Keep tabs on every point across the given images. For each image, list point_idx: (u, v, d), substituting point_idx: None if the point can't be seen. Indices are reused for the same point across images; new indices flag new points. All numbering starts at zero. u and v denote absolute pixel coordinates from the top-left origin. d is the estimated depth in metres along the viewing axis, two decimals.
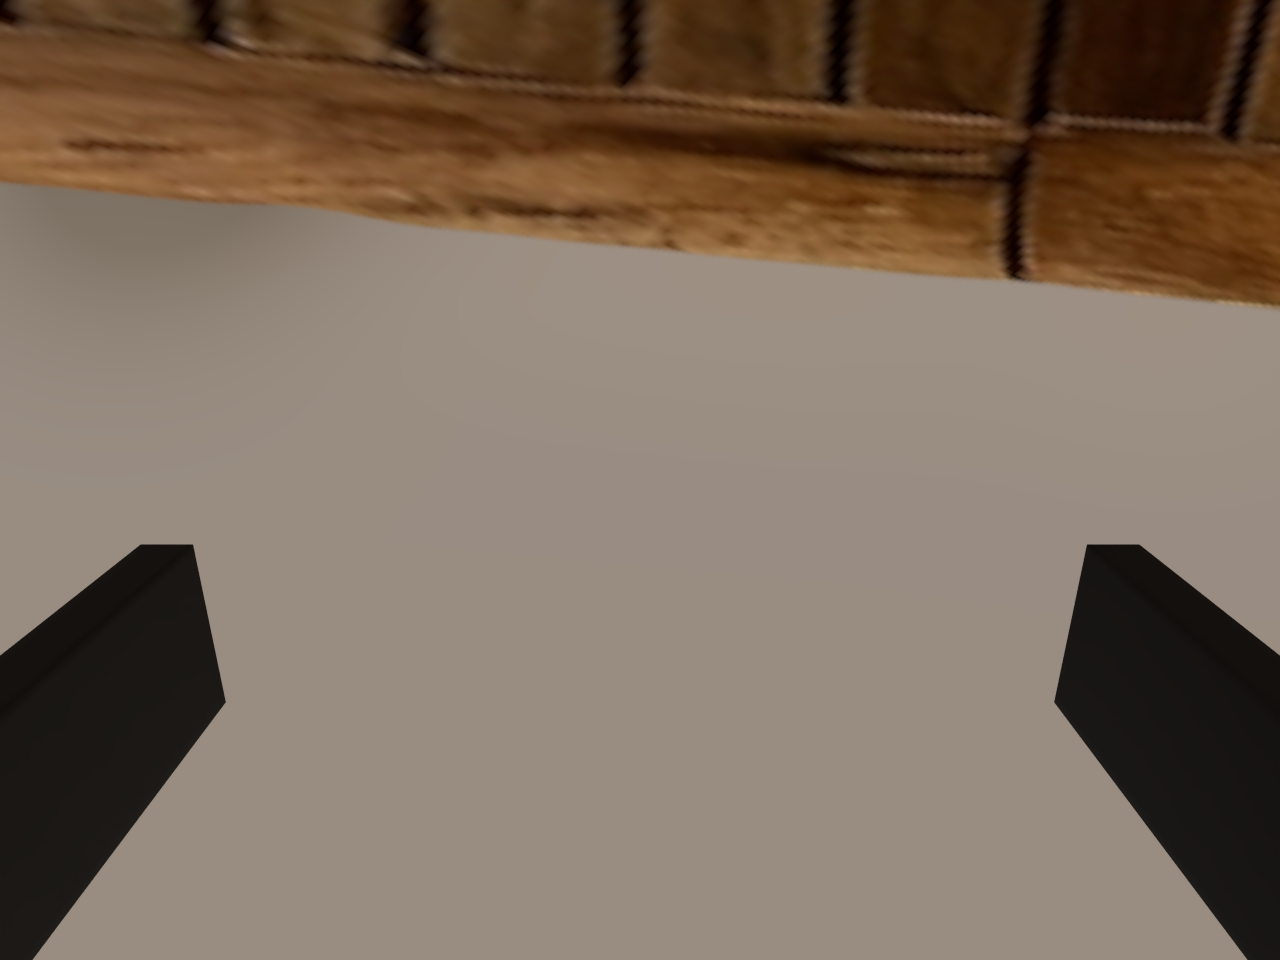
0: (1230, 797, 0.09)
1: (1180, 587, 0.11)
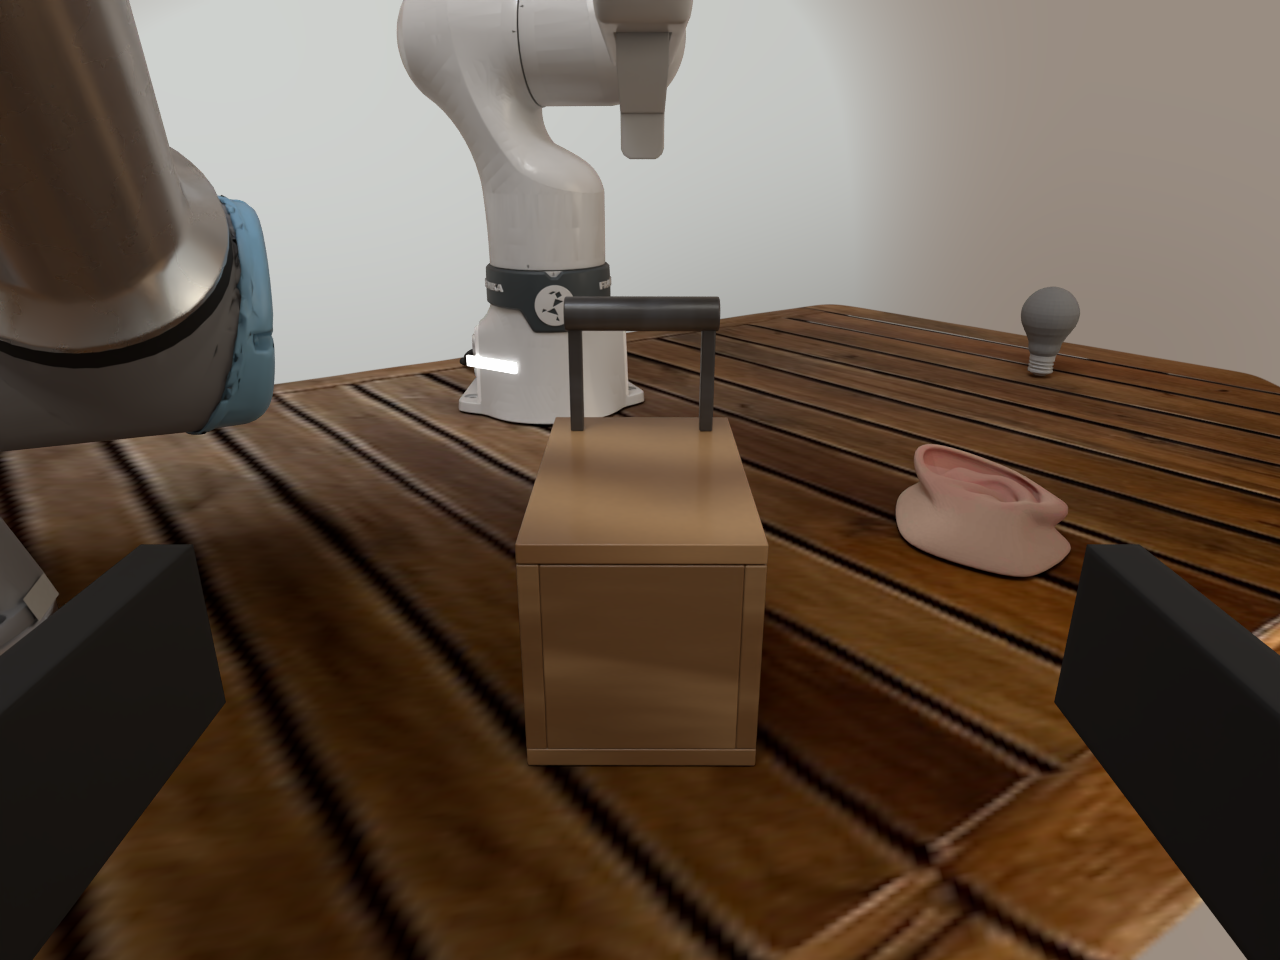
0: (1229, 797, 0.09)
1: (1180, 587, 0.11)
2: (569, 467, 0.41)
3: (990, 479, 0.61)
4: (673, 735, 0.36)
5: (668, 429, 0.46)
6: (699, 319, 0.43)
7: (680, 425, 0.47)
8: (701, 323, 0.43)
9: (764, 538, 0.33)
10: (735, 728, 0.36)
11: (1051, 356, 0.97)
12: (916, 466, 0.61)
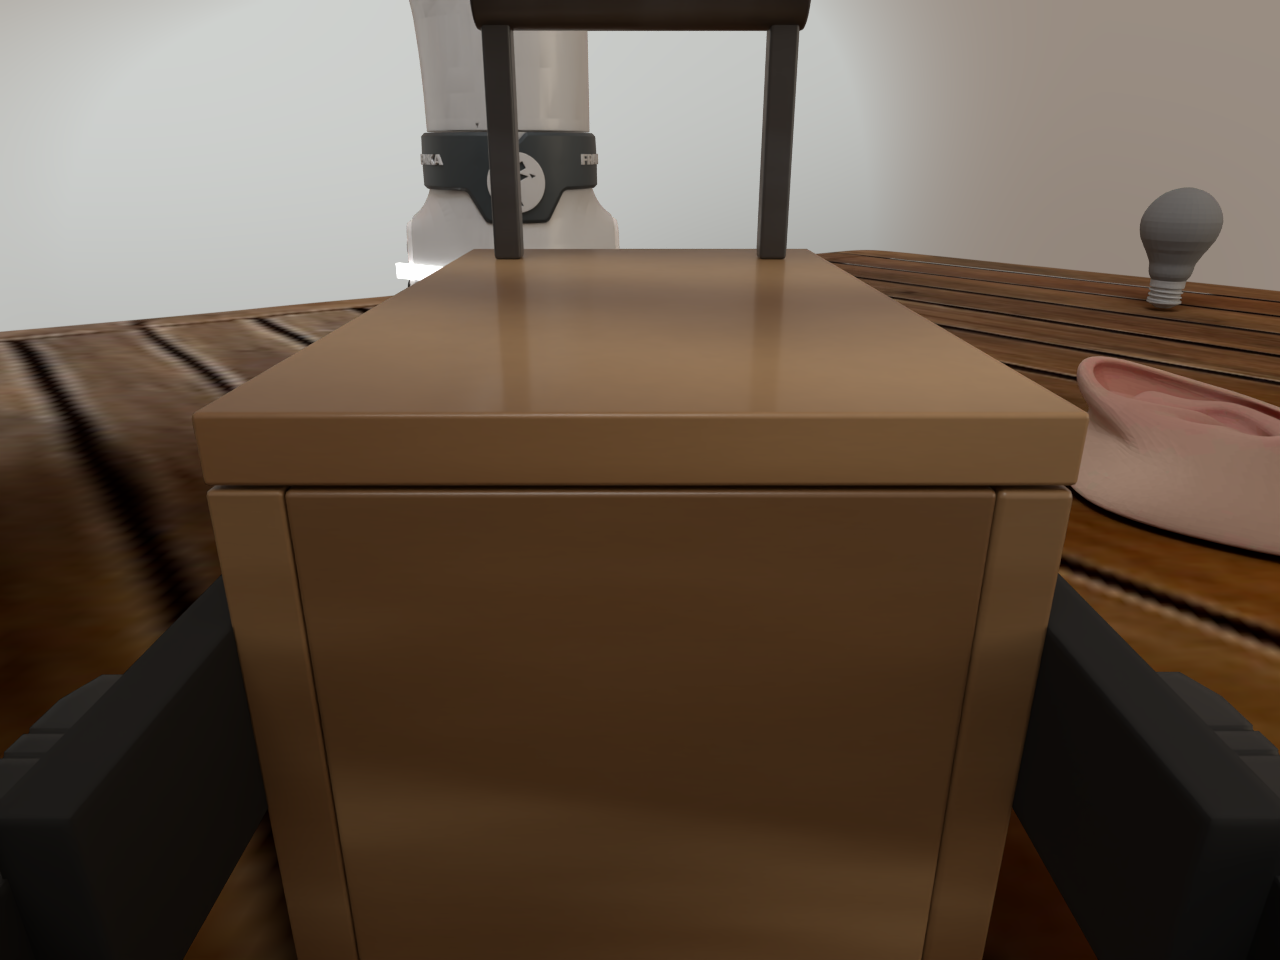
0: (1040, 732, 0.10)
1: None
2: (468, 292, 0.17)
3: (1209, 407, 0.37)
4: None
5: (694, 257, 0.23)
6: None
7: (718, 254, 0.23)
8: (771, 0, 0.20)
9: (1060, 399, 0.10)
10: None
11: (1181, 281, 0.73)
12: (1086, 387, 0.38)
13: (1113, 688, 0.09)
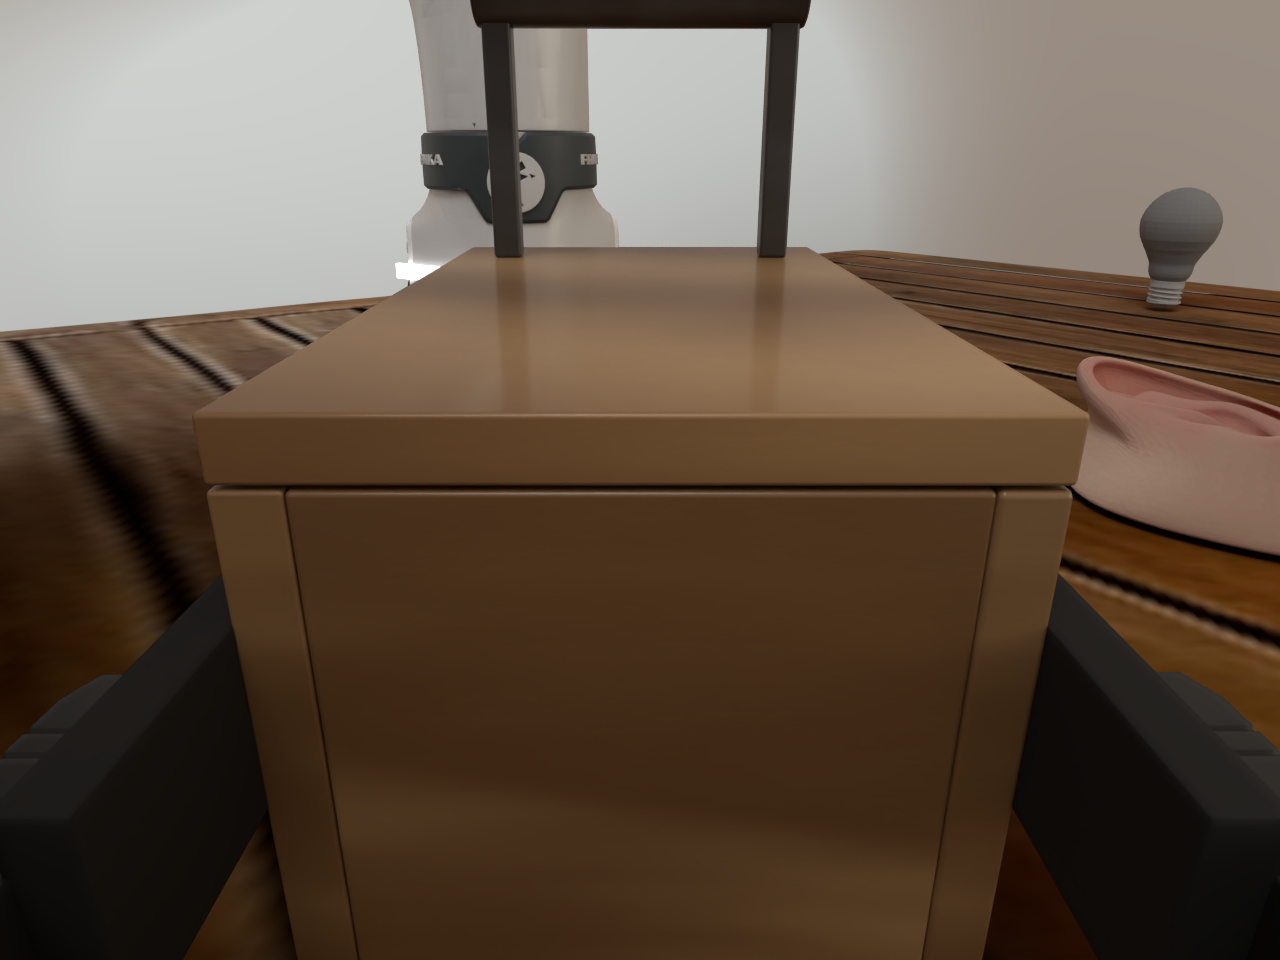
0: (1040, 733, 0.10)
1: None
2: (468, 291, 0.17)
3: (1209, 407, 0.37)
4: None
5: (694, 256, 0.23)
6: None
7: (718, 253, 0.23)
8: None
9: (1060, 399, 0.10)
10: None
11: (1181, 281, 0.73)
12: (1085, 387, 0.38)
13: (1113, 688, 0.09)
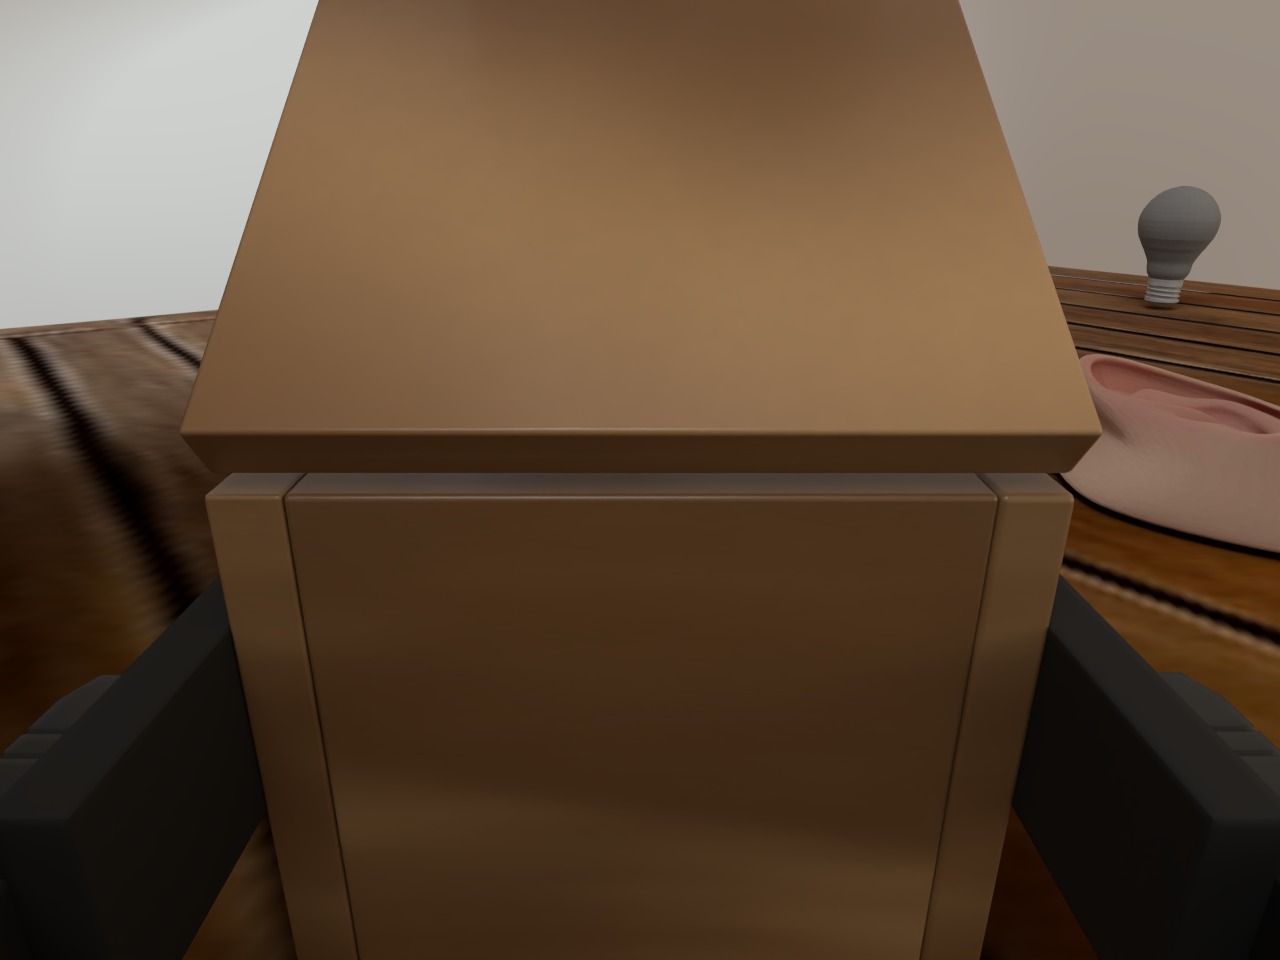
0: (1042, 733, 0.10)
1: None
2: None
3: (1206, 405, 0.37)
4: None
5: None
6: None
7: None
8: None
9: (1083, 389, 0.09)
10: None
11: (1179, 279, 0.73)
12: None
13: (1114, 689, 0.09)
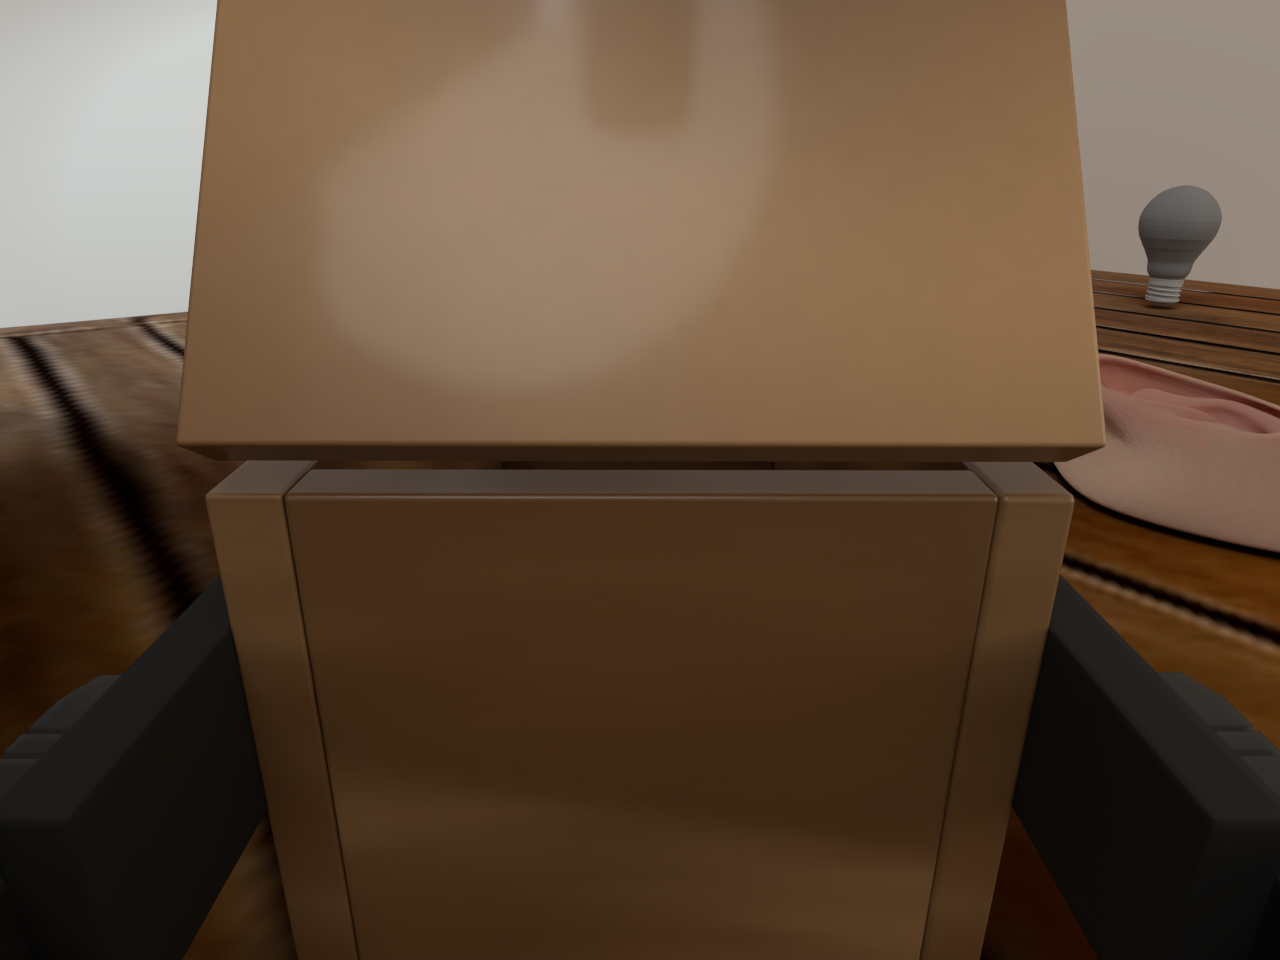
0: (1041, 733, 0.10)
1: None
2: None
3: (1207, 404, 0.37)
4: None
5: None
6: None
7: None
8: None
9: (1096, 393, 0.09)
10: None
11: (1180, 279, 0.73)
12: None
13: (1114, 688, 0.09)
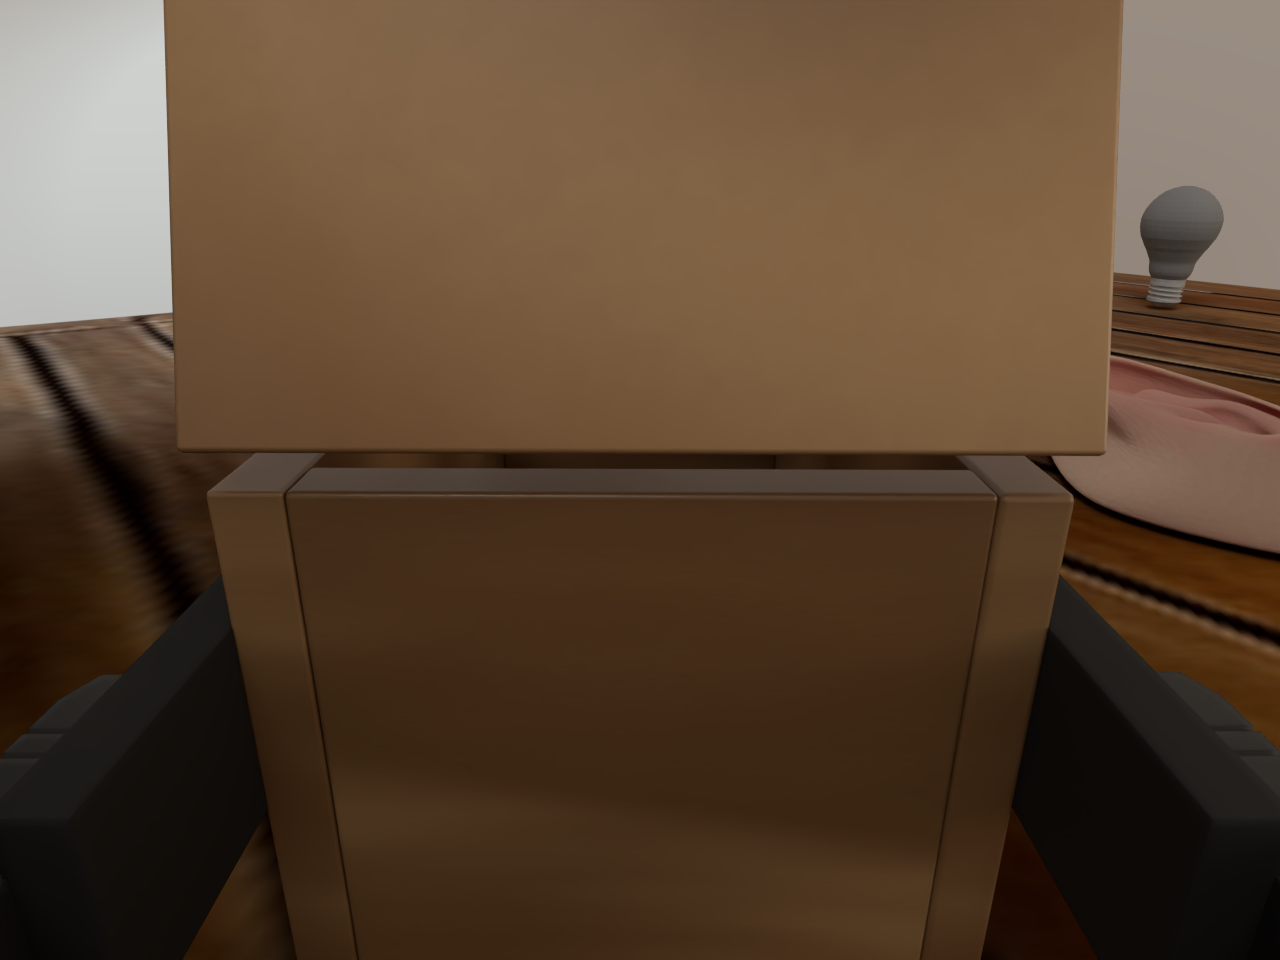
0: (1041, 733, 0.10)
1: None
2: None
3: (1209, 405, 0.37)
4: None
5: None
6: None
7: None
8: None
9: (1102, 400, 0.09)
10: None
11: (1182, 279, 0.73)
12: None
13: (1113, 688, 0.09)
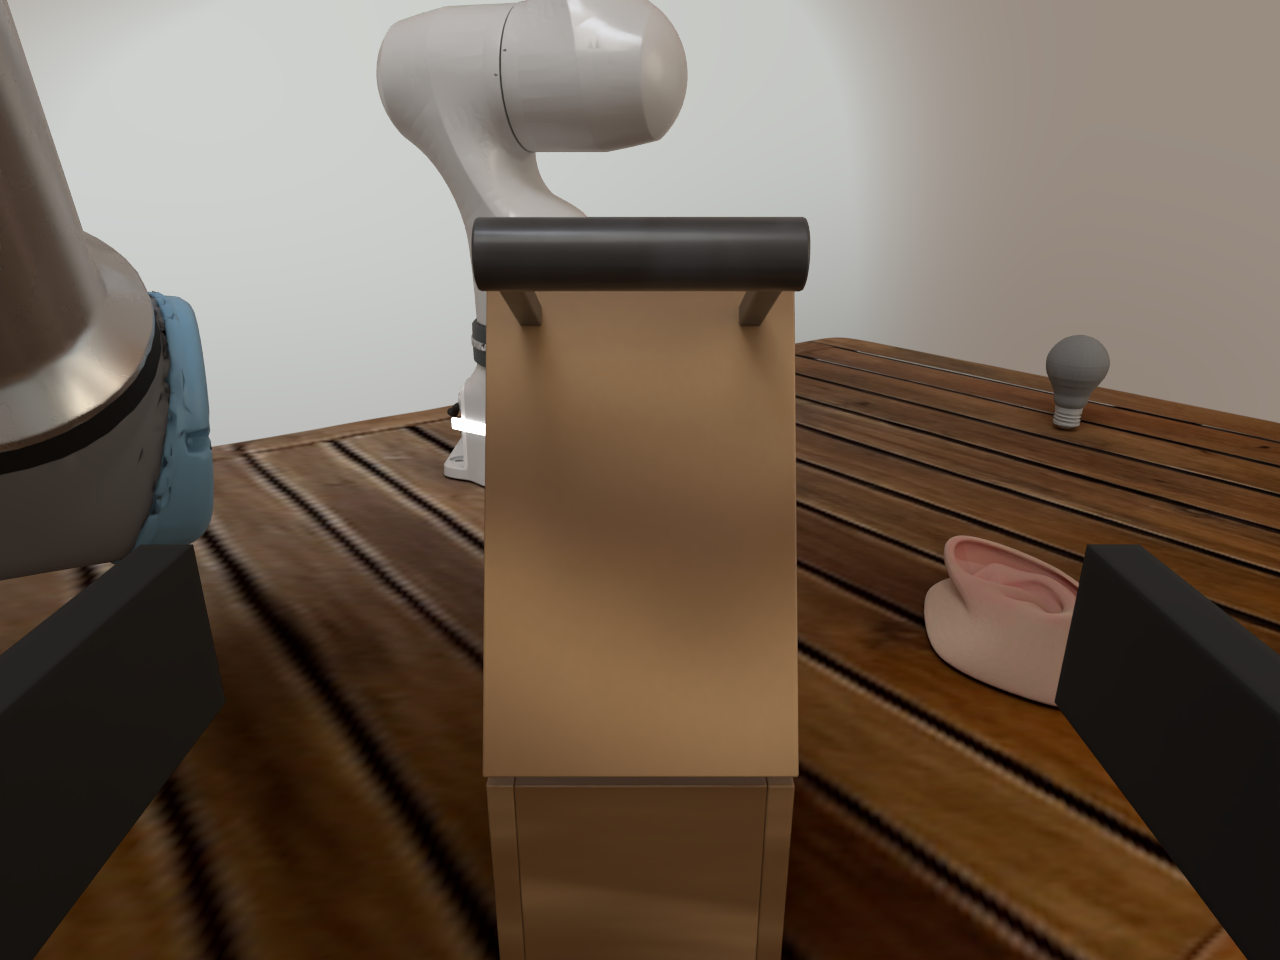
0: (1229, 797, 0.09)
1: (1180, 587, 0.11)
2: (530, 503, 0.27)
3: (1030, 579, 0.55)
4: None
5: (686, 315, 0.27)
6: (761, 291, 0.21)
7: (708, 292, 0.27)
8: None
9: (795, 758, 0.26)
10: None
11: (1078, 408, 0.91)
12: (947, 563, 0.55)
13: None
